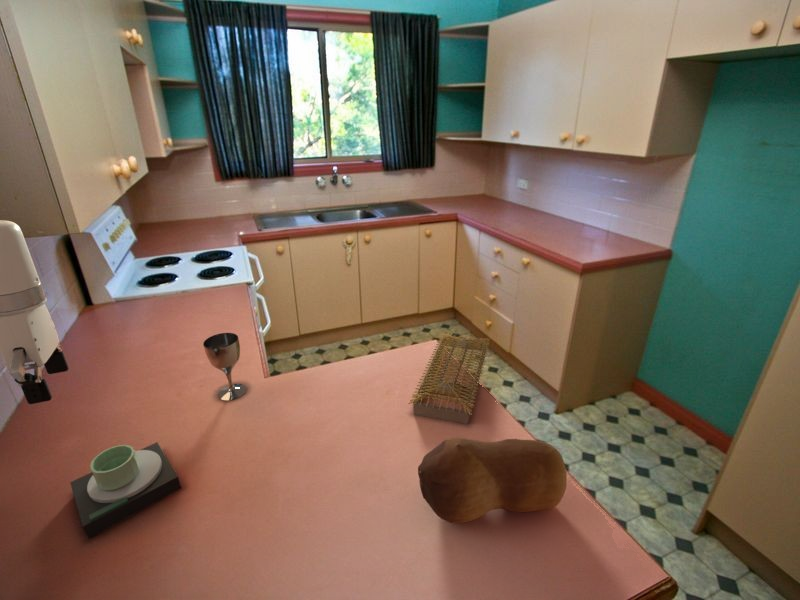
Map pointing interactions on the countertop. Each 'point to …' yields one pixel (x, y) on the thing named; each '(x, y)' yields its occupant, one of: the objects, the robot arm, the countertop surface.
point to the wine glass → (225, 361)
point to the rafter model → (449, 387)
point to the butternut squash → (491, 477)
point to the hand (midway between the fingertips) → (50, 385)
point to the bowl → (115, 467)
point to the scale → (125, 492)
